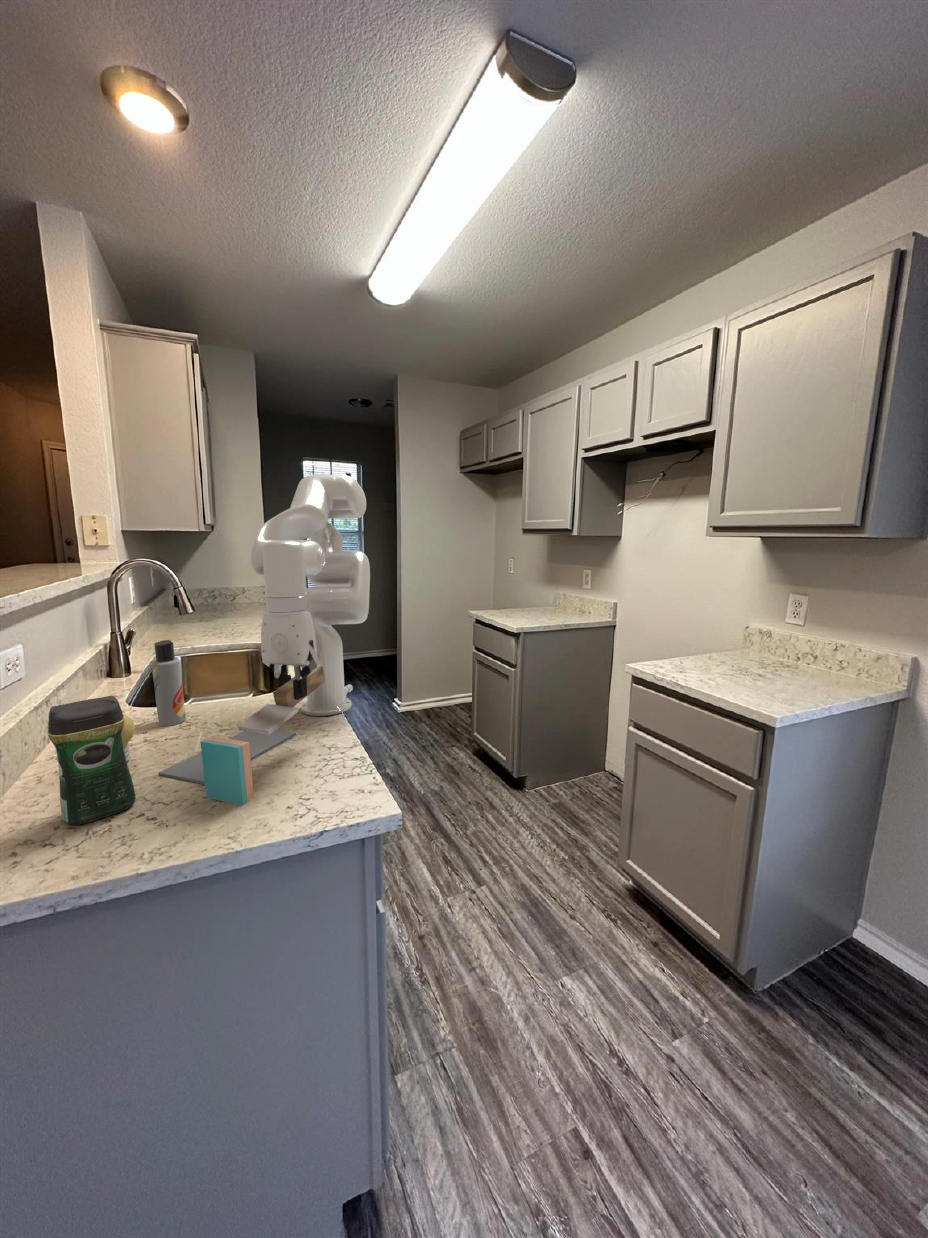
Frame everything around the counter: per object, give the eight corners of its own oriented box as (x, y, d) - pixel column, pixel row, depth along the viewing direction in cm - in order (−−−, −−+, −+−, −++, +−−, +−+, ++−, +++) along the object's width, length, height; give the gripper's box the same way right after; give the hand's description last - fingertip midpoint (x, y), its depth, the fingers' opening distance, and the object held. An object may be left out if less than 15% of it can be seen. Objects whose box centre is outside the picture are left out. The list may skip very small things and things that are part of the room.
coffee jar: (131, 791, 85) (118, 688, 82) (139, 809, 79) (125, 699, 76) (59, 812, 78) (42, 701, 75) (63, 833, 72) (45, 715, 70)
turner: (306, 679, 105) (302, 664, 104) (333, 682, 103) (330, 666, 102) (238, 730, 88) (233, 713, 87) (269, 734, 86) (265, 717, 84)
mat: (253, 728, 113) (253, 726, 113) (296, 734, 109) (296, 732, 109) (159, 775, 90) (158, 772, 90) (208, 785, 86) (207, 782, 86)
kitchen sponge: (217, 790, 85) (212, 736, 83) (253, 798, 82) (249, 742, 80) (206, 797, 82) (200, 741, 81) (243, 805, 80) (237, 748, 78)
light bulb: (94, 773, 91) (87, 723, 90) (104, 760, 97) (97, 712, 95) (134, 767, 94) (128, 718, 92) (141, 754, 100) (135, 707, 98)
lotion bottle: (191, 718, 120) (182, 638, 117) (175, 726, 114) (166, 643, 111) (169, 717, 120) (160, 638, 117) (153, 726, 115) (143, 643, 112)
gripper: (239, 606, 93) (246, 698, 96) (310, 609, 87) (315, 707, 90) (267, 602, 100) (273, 688, 103) (334, 604, 94) (339, 695, 97)
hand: (293, 696), depth 96 cm, fingers closed on turner, 3 cm apart
